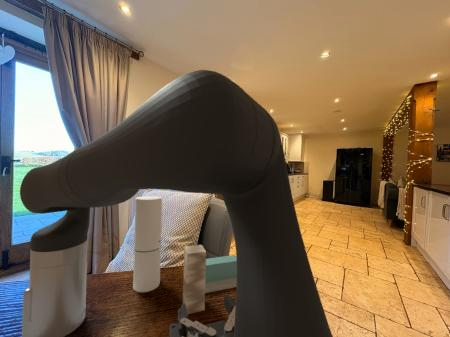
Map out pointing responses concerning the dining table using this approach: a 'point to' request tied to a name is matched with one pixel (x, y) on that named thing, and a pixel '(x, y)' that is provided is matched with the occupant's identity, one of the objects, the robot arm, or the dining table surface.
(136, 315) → the dining table surface
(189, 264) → the ash post
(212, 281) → the stand
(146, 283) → the cylindrical container
